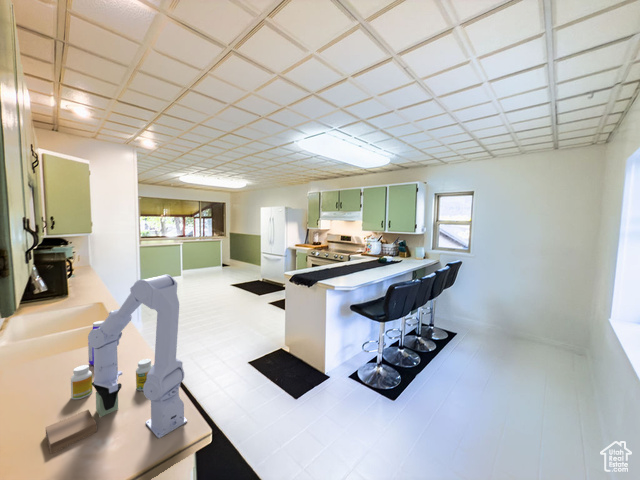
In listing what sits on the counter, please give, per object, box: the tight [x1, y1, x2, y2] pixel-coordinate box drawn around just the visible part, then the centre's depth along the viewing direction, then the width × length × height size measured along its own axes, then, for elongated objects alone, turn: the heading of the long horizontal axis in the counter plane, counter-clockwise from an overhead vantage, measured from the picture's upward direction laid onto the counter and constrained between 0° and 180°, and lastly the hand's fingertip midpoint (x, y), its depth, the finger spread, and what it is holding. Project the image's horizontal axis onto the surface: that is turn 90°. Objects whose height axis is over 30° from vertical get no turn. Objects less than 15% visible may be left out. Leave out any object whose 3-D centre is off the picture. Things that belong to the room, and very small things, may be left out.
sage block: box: [95, 391, 119, 418], centre depth 81 cm, size 4×4×6 cm
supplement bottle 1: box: [70, 364, 93, 400], centre depth 88 cm, size 5×5×10 cm
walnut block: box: [45, 409, 97, 455], centre depth 72 cm, size 9×9×3 cm
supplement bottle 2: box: [135, 358, 154, 392], centre depth 93 cm, size 5×5×10 cm
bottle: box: [87, 320, 105, 366], centre depth 110 cm, size 7×6×17 cm
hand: (107, 405), depth 81 cm, fingers closed on sage block, 4 cm apart
